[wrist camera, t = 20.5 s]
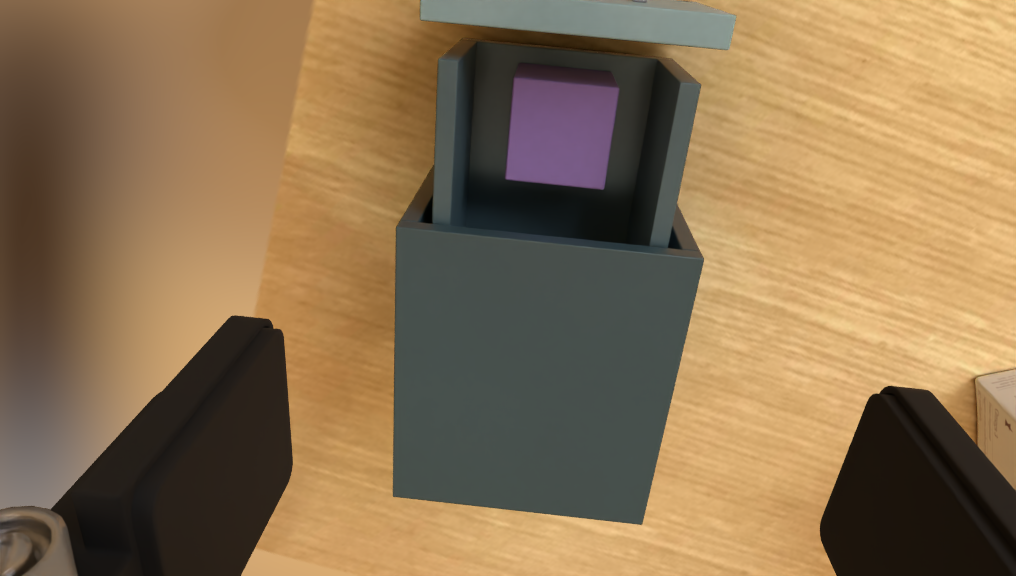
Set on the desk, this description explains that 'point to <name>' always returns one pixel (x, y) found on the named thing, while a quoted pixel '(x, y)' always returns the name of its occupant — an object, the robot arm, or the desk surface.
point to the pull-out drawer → (637, 128)
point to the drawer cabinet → (535, 365)
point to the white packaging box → (998, 421)
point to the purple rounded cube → (561, 125)
